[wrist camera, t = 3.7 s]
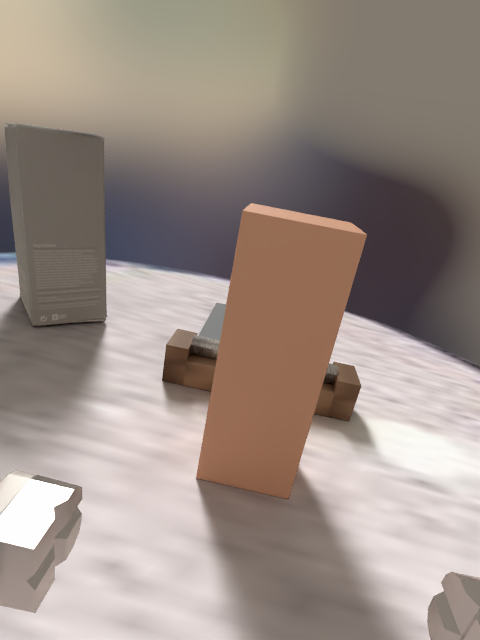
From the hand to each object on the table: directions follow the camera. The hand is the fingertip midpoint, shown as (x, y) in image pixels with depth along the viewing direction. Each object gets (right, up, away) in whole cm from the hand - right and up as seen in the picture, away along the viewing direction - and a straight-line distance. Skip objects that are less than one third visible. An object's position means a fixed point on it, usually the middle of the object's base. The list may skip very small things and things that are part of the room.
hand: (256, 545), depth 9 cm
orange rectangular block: (0, -3, +14) cm, 14 cm away
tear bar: (+1, 0, +21) cm, 21 cm away
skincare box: (-18, +6, +29) cm, 34 cm away
